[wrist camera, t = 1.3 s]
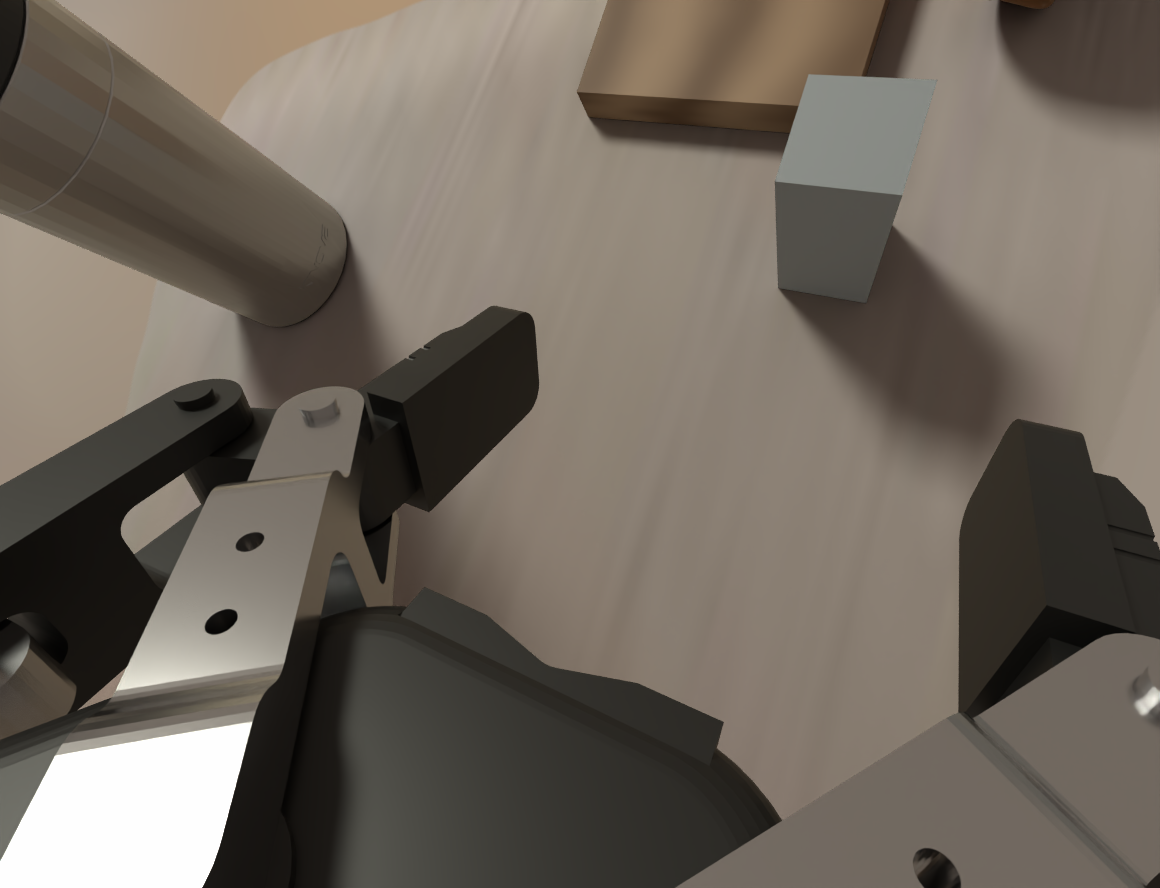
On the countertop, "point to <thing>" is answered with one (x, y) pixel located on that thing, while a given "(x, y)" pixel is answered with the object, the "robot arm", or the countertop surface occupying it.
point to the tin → (1032, 3)
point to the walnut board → (723, 58)
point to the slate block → (845, 180)
